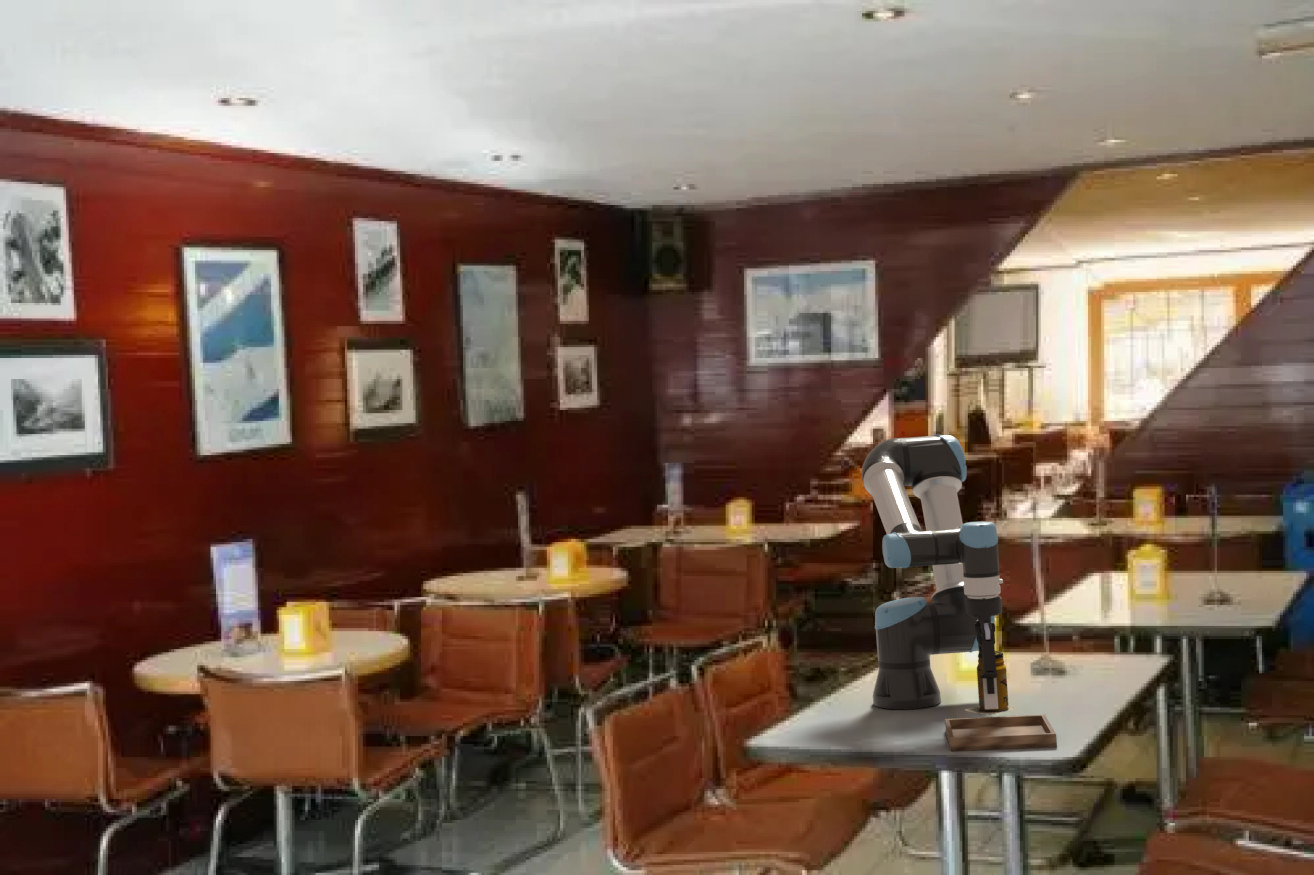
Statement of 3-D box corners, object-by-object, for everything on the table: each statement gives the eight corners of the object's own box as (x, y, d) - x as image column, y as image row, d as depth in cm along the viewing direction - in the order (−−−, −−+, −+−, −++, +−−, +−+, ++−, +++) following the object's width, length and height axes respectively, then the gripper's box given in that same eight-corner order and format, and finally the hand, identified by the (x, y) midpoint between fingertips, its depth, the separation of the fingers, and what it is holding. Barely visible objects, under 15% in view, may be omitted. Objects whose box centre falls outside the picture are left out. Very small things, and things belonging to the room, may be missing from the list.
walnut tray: (950, 751, 287) (949, 738, 287) (945, 731, 305) (944, 719, 305) (1057, 746, 285) (1056, 733, 284) (1045, 726, 302) (1044, 714, 302)
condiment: (1017, 708, 312) (1013, 651, 312) (989, 716, 307) (986, 658, 307) (991, 704, 318) (987, 648, 318) (963, 711, 313) (959, 654, 313)
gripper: (1005, 601, 302) (1012, 714, 303) (997, 588, 321) (1004, 694, 322) (967, 603, 304) (975, 716, 304) (961, 590, 322) (968, 696, 323)
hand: (990, 704), depth 313 cm, fingers closed on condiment, 6 cm apart
